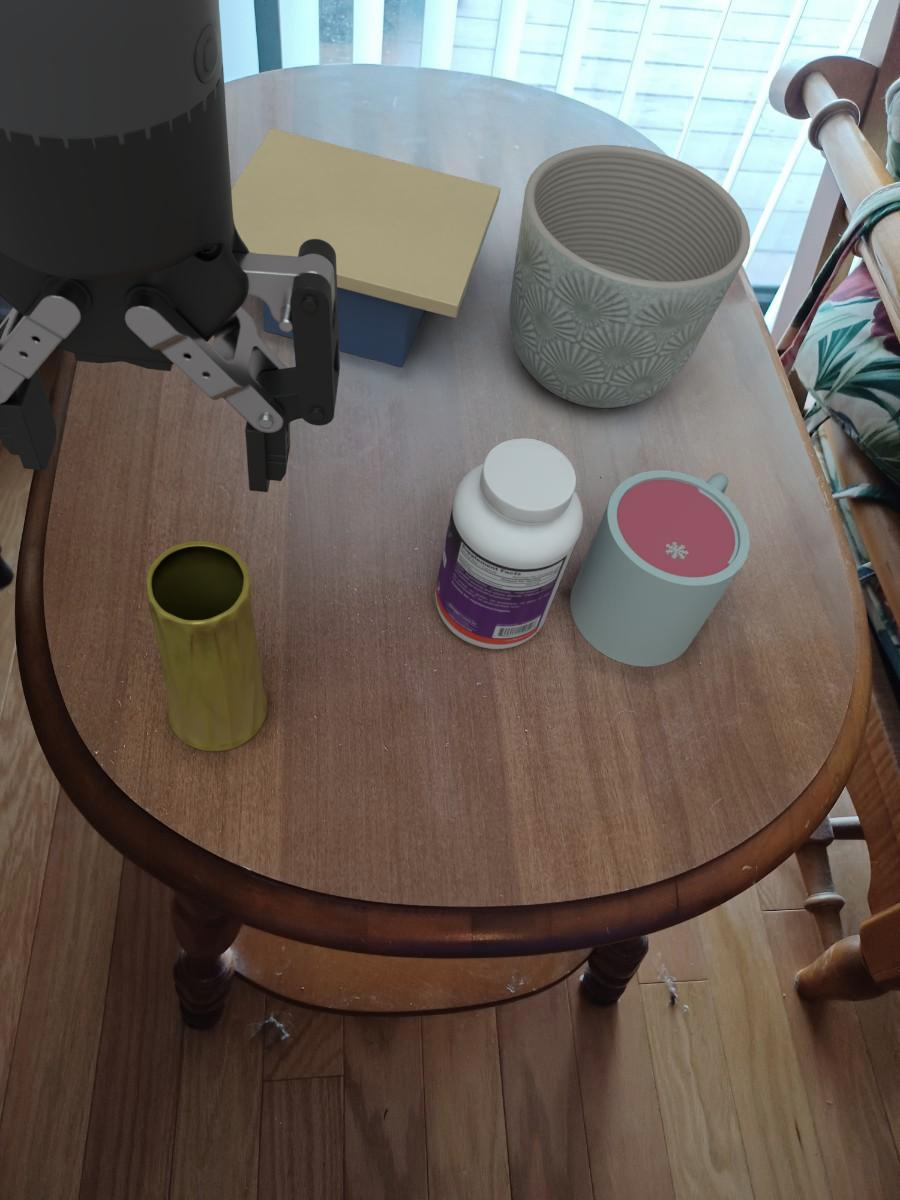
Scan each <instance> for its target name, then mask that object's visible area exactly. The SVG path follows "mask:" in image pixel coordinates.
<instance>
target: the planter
mask: <svg viewBox="0 0 900 1200" xmlns="http://www.w3.org/2000/svg"><path fill="white" fill-rule="evenodd" d="M520 217H521V218H520V224H519V231H518V239H517V247H516V253H515V261H514V268H513V275H512V281H511V282H512V283H511V289H510V297H509V305H508V306H509V309H508V310H509V328H510V334H511V339H512V342H513V345H514V348H515V350H516V353H517V356H518V358H519V360H520V362H521V363H522V364H523V366H524V368H525V369H526V370H527V371H528V373H529V374H530V375H531V376H532V378H534V379H535V380H536V381H537V382H538V383H539V384H540V385H541V386H542V387H544V388H545V389H546V390H547V391H548V392H550V393H552V394H553V395H555V396H557V397H559V398H561V399H564V400H565V401H568V402H570V403H574V404H577V405H580V406H584V407H590V408H596V409H610V408H612V409H613V408H621V407H626V406H631V405H634V404H637V403H640V402H643V401H645V400H647V399H649V398H652V397H653V396H654V395H656V394H657V393H660V391H662V390H663V389H664V388H666V386H668V385H669V384H670V383H671V382H672V381H673V380H674V379H675V378H676V377H677V376H678V375H679V373H681V371H682V370H683V369H684V368H685V366H686V365H687V363H688V362H689V361H690V358H691V357H692V355H693V354H694V353H695V350H696V348H697V347H698V345H699V343H700V341H701V339H702V338H703V336H704V334H705V332H706V331H707V329H708V327H709V325H710V323H711V321H712V320H713V318H714V316H715V314H716V312H717V311H718V308H719V307H720V305H721V303H722V302H723V300H724V298H725V296H726V295H727V292H728V291H729V289H730V288H731V286H732V283H733V281H734V280H735V278H736V276H737V275H738V272H739V271H740V269H741V268H742V265H743V264H744V262H745V261H746V258H747V256H748V253H749V249H750V246H751V231H750V228H749V223H748V220H747V218H746V215H745V214H744V212H743V210H742V208H741V206H740V205H739V204H738V202H737V201H736V199H734V198H733V196H731V194H730V193H729V192H728V191H727V190H726V189H725V188H724V187H723V186H721V185H720V184H719V183H717V181H716V180H714V179H712V177H710V176H708V175H707V174H705V173H704V172H702V171H700V170H699V169H697V168H695V167H693V166H691V165H689V164H688V163H685V162H683V161H681V160H678V159H676V158H673V157H671V156H668V155H665V154H663V153H660V152H656V151H653V150H648V149H645V148H638V147H633V146H627V145H617V144H616V145H615V144H597V145H595V144H594V145H586V146H579V147H573V148H570V149H568V150H567V149H566V150H564V151H561V152H559V153H556V154H554V155H552V156H550V157H549V158H547V159H546V160H544V161H543V162H541V163H540V164H539V165H538V166H537V167H536V168H535V169H534V171H533V172H532V173H531V174H530V176H529V178H528V180H527V183H526V186H525V189H524V195H523V201H522V209H521V216H520Z"/></svg>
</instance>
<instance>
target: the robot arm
mask: <svg viewBox="0 0 900 1200" xmlns="http://www.w3.org/2000/svg"><path fill="white" fill-rule="evenodd" d="M220 12H221V11H220V0H0V297H1V299H3V300H4V301H5V302H6V303H8V304H9V305H10V306H11V307H12V309H11V310H10V311H9V312H8V313H7V315H6V317H5V318H4V319H3V320H2V322H1V323H0V442H1V444H2V446H3V447H4V448H5V449H6V450H7V452H9V453H10V454H11V455H15V456H18V457H19V459H20V462H21V465H22V467H23V469H25V470H34V471H46V470H47V468H48V465H49V462H50V460H51V457H52V454H53V451H54V448H55V445H56V442H57V434H58V433H57V432H58V431H57V425H56V421H55V418H54V415H53V412H52V408H51V405H50V401H49V398H48V395H47V392H46V389H45V385H44V382H43V379H42V376H41V372H40V367H41V366H42V365H43V363H44V362H46V360H47V359H48V358H49V356H50V355H51V354H52V353H53V352H54V350H55V349H57V347H59V348H61V349H62V350H64V351H66V352H68V353H71V354H74V357H75V360H76V362H83V363H91V364H92V363H93V364H109V363H118V362H120V363H121V362H122V363H126V364H130V365H133V366H136V367H141V368H144V369H148V370H155V371H164V372H171V371H172V367H173V365H175V366H176V367H177V368H178V370H179V371H181V372H182V373H183V374H184V376H186V377H187V378H188V379H189V380H191V382H192V383H193V384H195V386H197V387H198V388H199V390H201V391H202V393H204V394H205V395H206V396H207V397H208V398H210V399H211V400H213V401H217V400H220V399H223V400H224V401H225V402H226V403H227V404H229V406H231V407H232V408H233V409H234V410H235V411H236V412H237V413H238V414H239V415H240V416H241V417H242V418H243V419H244V420H245V421H246V423H245V429H244V433H245V447H246V449H245V450H246V461H247V477H248V490H249V492H250V491H252V492H258V493H259V492H261V493H268V492H269V488H270V482H271V481H275V482H282V480H283V479H284V477H285V476H286V474H287V468H288V462H289V456H290V450H291V422H293V421H296V420H301V419H302V420H303V421H305V422H306V423H307V424H310V425H313V426H325V425H329V424H330V423H331V422H333V420H334V418H335V412H336V410H335V409H336V402H337V395H338V387H339V379H340V371H341V361H340V360H341V357H340V351H339V327H338V298H337V270H336V253H335V251H334V249H333V247H332V246H331V245H330V244H329V243H327V242H325V241H323V240H320V239H310V240H307V241H305V242H304V243H303V244H302V245H301V246H300V249H299V253H298V257H297V256H284V255H270V254H256V253H250V252H249V250H248V248H247V246H246V245H245V243H244V242H243V241H242V239H241V237H240V236H239V234H238V232H237V229H236V227H235V224H234V219H233V207H232V193H231V189H232V180H231V166H230V164H231V163H230V150H229V134H228V122H227V121H228V120H227V119H228V118H227V106H226V89H225V88H226V87H225V72H224V71H225V70H224V57H223V56H224V55H223V43H222V42H223V41H222V27H221V14H220ZM248 296H252V297H254V298H255V297H256V298H258V299H260V300H262V302H263V301H264V302H265V303H266V304H267V305H268V307H269V309H270V312H271V315H272V317H273V318H274V319H275V320H276V321H277V322H278V323H279V325H278V326H279V328H280V330H281V331H283V332H287V333H288V332H292V331H293V338H292V339H293V349H294V362H295V363H294V364H295V366H291V367H287V366H286V364H284V362H283V361H282V360H281V359H279V357H278V356H277V355H276V354H275V352H273V350H272V349H270V347H269V346H267V344H266V343H265V342H264V341H263V340H262V339H261V338H260V336H259V333H258V328H257V325H256V323H255V321H254V319H253V318H252V316H250V314H249V313H248V312H247V311H246V310H245V308H243V307H242V306H243V305H244V303H245V302H246V300H247V298H248ZM212 338H213V339H214V341H213V345H212V346H211V344H210V343H209V341H210V340H211V339H212Z"/></svg>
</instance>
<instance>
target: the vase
mask: <svg viewBox="0 0 900 1200" xmlns="http://www.w3.org/2000/svg"><path fill="white" fill-rule="evenodd" d="M145 586H146V596H147V598H146V599H147V603H148V609H149V613H150V619H151V623H152V627H153V631H154V636H155V637H154V638H155V641H156V643H157V647H158V652H159V656H160V657H159V658H160V662H161V669H162V673H163V674H162V675H163V681H164V686H165V692H166V697H167V706H166V709H167V717H168V722H169V726H170V727H171V730H172V731H173V732H174V734H175V735H176V737H178V738H179V739H180V740H181V741H182V742H183V743H185V744H186V745H188V746H189V747H192V748H194V749H197V750H200V751H204V752H224V751H229V750H233V749H235V748H238V747H240V746H242V745H243V744H246V743H247V742H248V741H250V740H251V739H252V738H253V737H254V736H256V734H257V733H258V732H259V731H260V729H261V727H262V725H263V724H264V722H265V719H266V717H267V712H268V699H267V693H266V691H265V689H264V679H263V670H262V665H261V659H260V652H259V642H258V638H257V631H256V626H255V620H254V616H253V611H252V606H251V598H252V588H251V577H250V571H249V568H248V566H247V564H246V562H245V561H244V559H243V558H242V556H240V554H238V553H237V552H236V551H235V550H233V549H232V548H231V547H229V546H226V545H224V544H222V543H218V542H214V541H209V540H193V541H186V542H180V543H178V544H176V545H173V546H171V547H169V548H168V549H166V550H165V551H163V552H162V553H161V554H160V555H159V556H158V557H156V558H155V560H154V561H153V562H152V563H151V565H150V566H149V569H148V571H147V574H146V579H145Z"/></svg>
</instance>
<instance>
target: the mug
mask: <svg viewBox="0 0 900 1200" xmlns="http://www.w3.org/2000/svg"><path fill="white" fill-rule="evenodd" d="M728 486H729V478H728V476H727V475H726V474H724V473H721V472H719V473H714V474H712V475H711V476H710V477H709V478H708V480H707V481H705V480H703V479H701V478H699V477H696V476H694V475H690V474H688V473H684V472H680V471H675V470H665V469H663V470H662V469H658V470H648V471H643V472H640V473H636V474H634V475H632V476H629V477H627V478H626V479H625V480H623V481H622V482H621V483H620V484H618V486H617V487H616V488H615V489H614V491H613V492H612V493H611V496H610V498H609V501H608V503H607V505H606V508H605V510H604V512H603V514H602V517H601V520H600V523H599V525H598V527H597V528H596V532H595V534H594V536H593V538H592V541H591V543H590V545H589V548H588V551H587V553H586V555H585V558H584V560H583V562H582V564H581V567H580V569H579V572H578V574H577V576H576V578H575V581H574V583H573V586H572V588H571V591H570V598H569V599H570V600H569V604H570V605H569V606H570V612H571V616H572V619H573V622H574V624H575V626H576V628H577V630H578V631H579V632H580V634H581V635H582V637H583V638H584V639H585V640H586V641H587V642H588V643H589V644H590V645H591V647H593V648H594V649H596V650H597V651H598V652H599V653H600V654H603V656H605V657H607V658H610V659H611V660H614V661H615V662H618V663H621V664H624V665H629V666H634V667H645V668H646V667H658V666H663V665H665V664H668V663H671V662H673V661H674V660H676V659H678V658H679V657H680V656H682V655H683V654H684V653H686V651H687V650H688V648H689V647H690V645H691V644H692V643H693V641H694V639H695V638H696V636H697V635H698V633H699V632H700V630H701V629H702V627H703V625H705V623H706V621H707V619H708V618H709V617H710V615H711V614H712V612H713V611H714V609H715V607H716V606H717V605H718V603H719V602H720V600H721V599H722V597H723V595H725V592H726V591H727V589H728V588H729V586H730V585H731V584H732V582H733V581H734V579H735V577H736V576H737V575H738V573H739V571H740V570H741V568H742V567H743V565H744V563H745V562H746V560H747V558H748V555H749V552H750V543H751V541H750V533H749V528H748V526H747V523H746V520H745V518H744V516H743V515H742V513H741V511H740V510H739V508H738V507H737V506H736V504H735V503H734V502H733V501H732V500H731V499H730V498H729V497H728V496H727V495H726V494H725V492H726V490H727V488H728Z"/></svg>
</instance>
